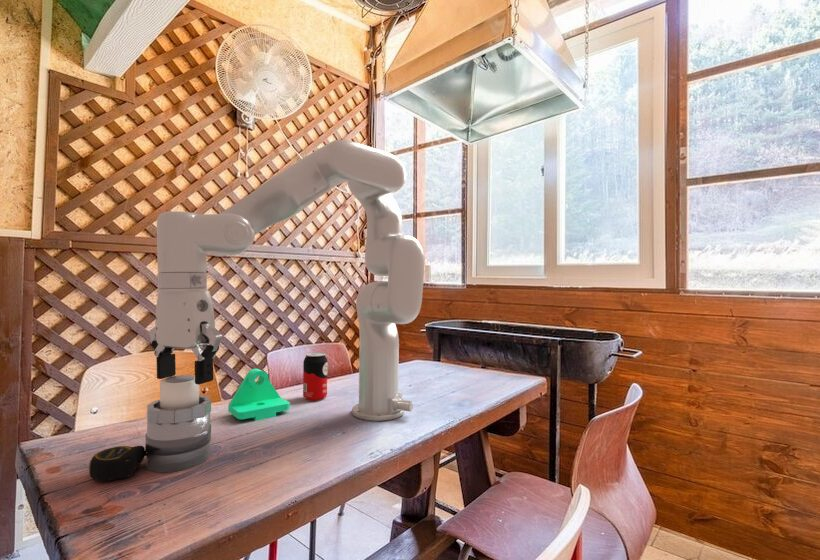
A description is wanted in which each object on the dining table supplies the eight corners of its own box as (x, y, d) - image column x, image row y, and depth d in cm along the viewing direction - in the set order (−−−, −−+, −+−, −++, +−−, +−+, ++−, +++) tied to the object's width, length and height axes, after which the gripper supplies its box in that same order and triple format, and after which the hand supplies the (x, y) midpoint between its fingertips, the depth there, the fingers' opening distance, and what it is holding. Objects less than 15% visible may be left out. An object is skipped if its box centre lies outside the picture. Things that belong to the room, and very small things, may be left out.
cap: (206, 411, 73) (207, 376, 73) (175, 421, 67) (175, 383, 67) (183, 406, 75) (184, 372, 75) (151, 416, 70) (152, 379, 70)
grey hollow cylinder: (223, 454, 74) (224, 398, 74) (171, 477, 65) (172, 414, 65) (185, 444, 78) (186, 392, 78) (131, 465, 69) (132, 406, 69)
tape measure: (131, 483, 63) (132, 459, 63) (79, 488, 61) (80, 463, 61) (147, 464, 70) (147, 442, 70) (100, 468, 68) (101, 446, 68)
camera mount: (239, 425, 89) (239, 378, 89) (228, 416, 95) (228, 372, 95) (290, 413, 97) (291, 370, 97) (277, 406, 103) (278, 365, 103)
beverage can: (309, 403, 105) (309, 357, 105) (299, 397, 110) (299, 353, 110) (331, 399, 109) (331, 354, 109) (320, 394, 114) (321, 351, 114)
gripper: (236, 282, 71) (237, 379, 72) (170, 282, 78) (172, 371, 79) (198, 283, 65) (200, 390, 65) (129, 283, 72) (132, 380, 72)
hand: (184, 379), depth 72 cm, fingers open, 9 cm apart
